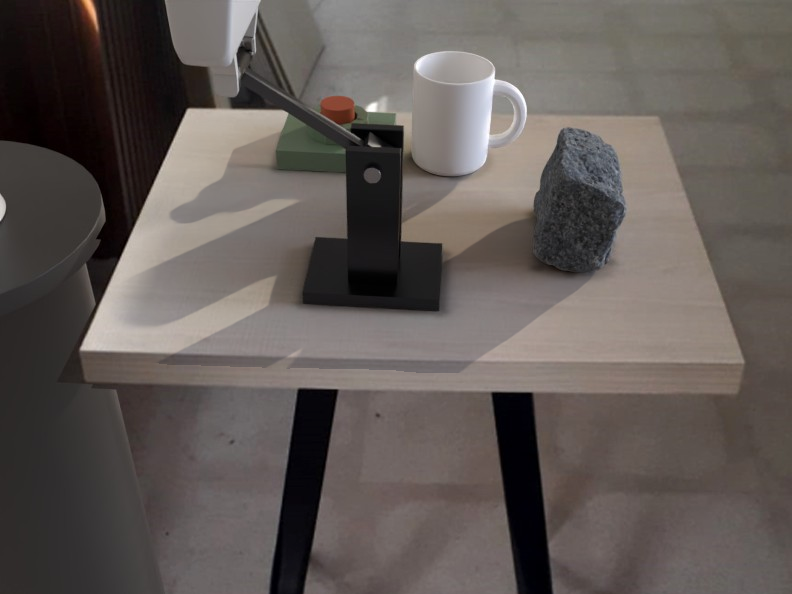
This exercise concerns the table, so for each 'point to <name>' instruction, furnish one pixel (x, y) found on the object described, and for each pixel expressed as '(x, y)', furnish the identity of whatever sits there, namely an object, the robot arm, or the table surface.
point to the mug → (458, 112)
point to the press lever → (300, 107)
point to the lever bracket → (374, 238)
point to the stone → (578, 203)
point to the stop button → (338, 109)
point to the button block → (319, 143)
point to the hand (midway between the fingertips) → (236, 75)
